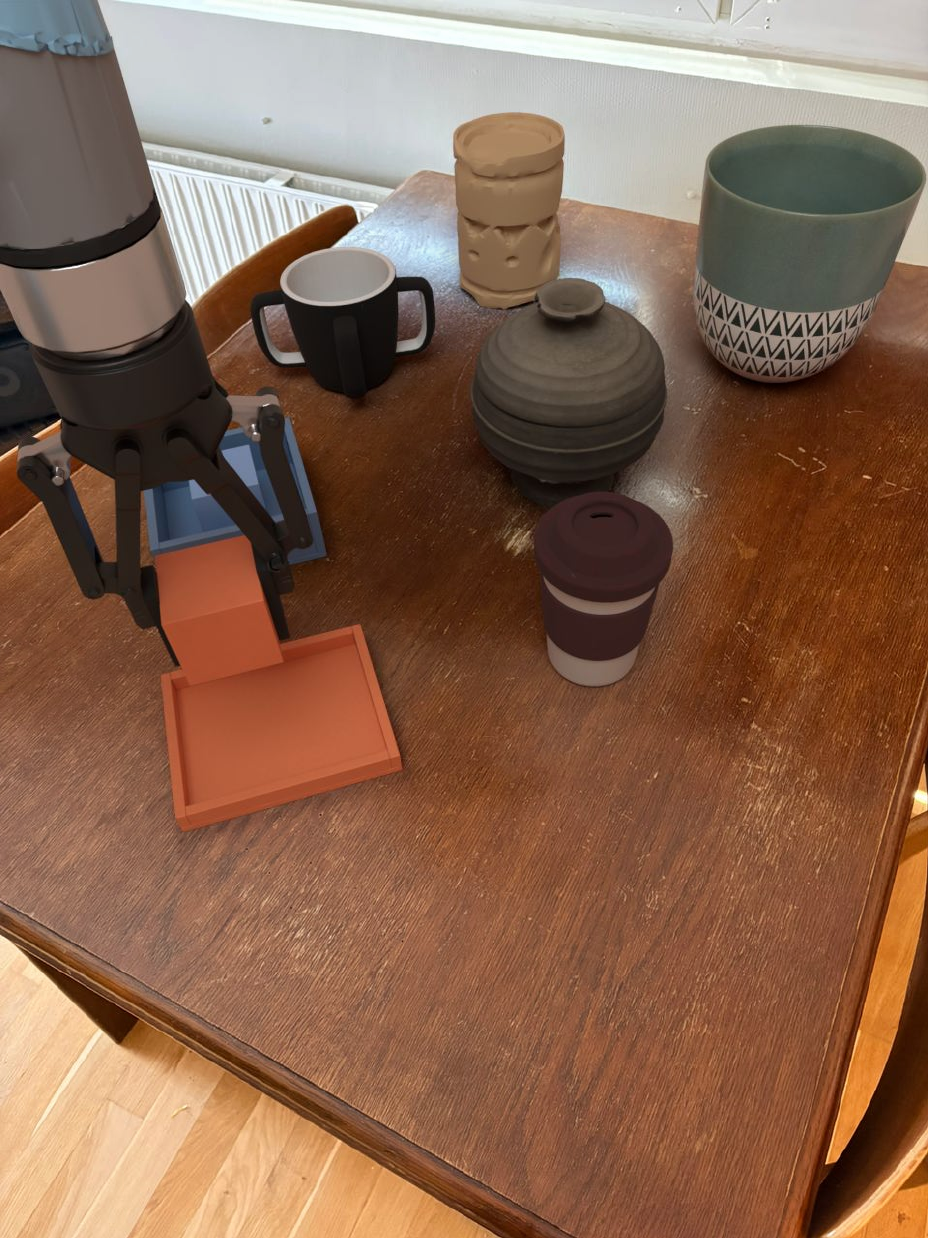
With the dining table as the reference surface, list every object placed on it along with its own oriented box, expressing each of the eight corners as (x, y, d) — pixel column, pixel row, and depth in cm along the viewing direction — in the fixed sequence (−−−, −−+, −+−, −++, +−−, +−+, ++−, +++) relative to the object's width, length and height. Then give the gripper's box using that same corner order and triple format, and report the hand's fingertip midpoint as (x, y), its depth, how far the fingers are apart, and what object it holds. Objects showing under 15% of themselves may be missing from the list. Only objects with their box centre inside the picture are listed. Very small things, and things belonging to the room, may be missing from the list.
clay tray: (183, 832, 65) (174, 819, 64) (167, 689, 74) (160, 674, 72) (403, 770, 68) (400, 755, 66) (363, 639, 77) (360, 623, 75)
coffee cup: (620, 722, 70) (640, 592, 59) (509, 671, 74) (508, 541, 62) (670, 636, 75) (698, 503, 64) (565, 593, 79) (574, 460, 68)
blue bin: (169, 594, 81) (149, 550, 77) (156, 493, 90) (139, 449, 86) (327, 556, 83) (317, 511, 79) (299, 461, 93) (289, 416, 88)
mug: (452, 367, 102) (447, 268, 93) (348, 434, 95) (330, 333, 86) (357, 318, 110) (343, 222, 101) (254, 376, 103) (228, 278, 94)
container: (513, 321, 108) (513, 167, 94) (439, 287, 114) (429, 138, 100) (579, 280, 114) (588, 129, 100) (505, 250, 120) (504, 103, 106)
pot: (541, 565, 80) (539, 361, 66) (443, 471, 92) (425, 280, 78) (696, 496, 86) (724, 294, 72) (586, 415, 98) (592, 229, 84)
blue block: (209, 547, 84) (191, 499, 79) (201, 506, 88) (184, 458, 83) (272, 532, 85) (258, 483, 80) (262, 492, 89) (248, 444, 84)
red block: (190, 686, 56) (161, 625, 52) (182, 618, 60) (154, 555, 56) (283, 662, 57) (263, 600, 53) (270, 596, 61) (250, 533, 57)
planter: (860, 429, 92) (933, 223, 76) (665, 406, 96) (695, 206, 80) (857, 326, 104) (920, 130, 88) (685, 309, 108) (714, 118, 92)
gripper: (297, 242, 45) (359, 563, 62) (-101, 316, 42) (81, 631, 60) (325, 317, 40) (384, 642, 58) (-121, 407, 37) (83, 720, 55)
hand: (230, 636), depth 59 cm, fingers closed on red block, 6 cm apart
